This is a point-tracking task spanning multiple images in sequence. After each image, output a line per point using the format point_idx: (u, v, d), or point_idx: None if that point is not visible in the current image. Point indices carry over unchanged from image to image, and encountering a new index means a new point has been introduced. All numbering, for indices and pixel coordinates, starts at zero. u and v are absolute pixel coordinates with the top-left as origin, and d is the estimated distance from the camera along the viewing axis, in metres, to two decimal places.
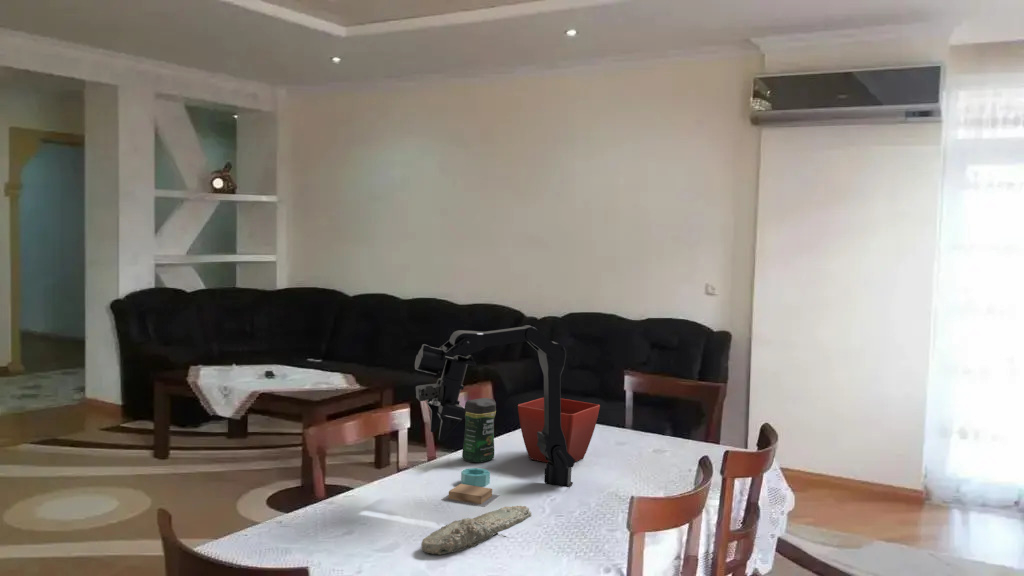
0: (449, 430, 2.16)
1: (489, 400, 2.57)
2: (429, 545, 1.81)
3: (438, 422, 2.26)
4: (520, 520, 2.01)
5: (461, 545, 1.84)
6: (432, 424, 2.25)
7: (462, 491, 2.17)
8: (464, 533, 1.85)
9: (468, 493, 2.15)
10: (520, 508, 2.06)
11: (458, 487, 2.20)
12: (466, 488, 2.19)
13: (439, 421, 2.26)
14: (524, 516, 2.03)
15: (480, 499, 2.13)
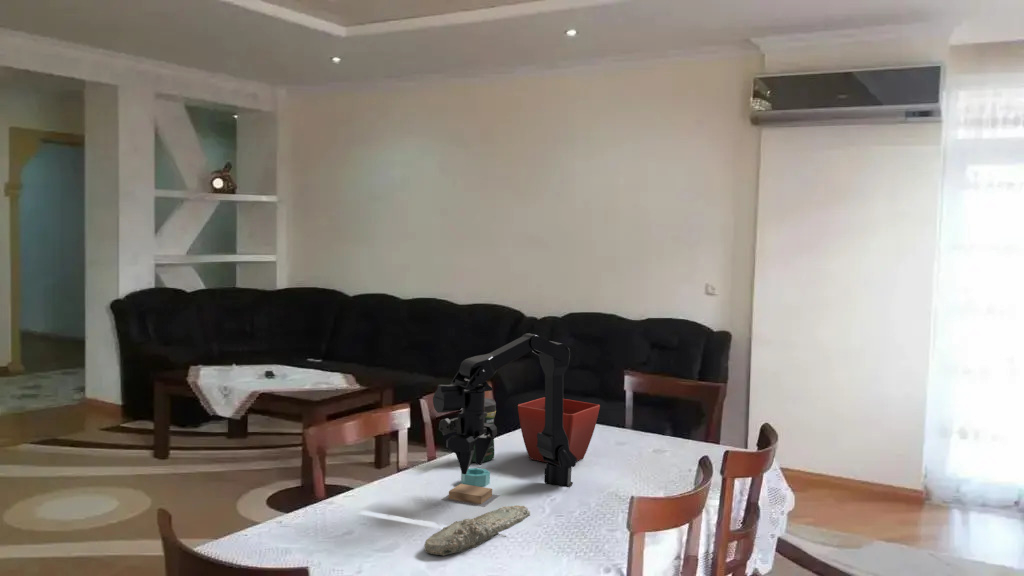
0: (466, 462, 2.11)
1: (489, 400, 2.57)
2: (433, 546, 1.81)
3: (482, 454, 2.21)
4: (520, 520, 2.01)
5: (464, 546, 1.84)
6: (477, 456, 2.22)
7: (462, 491, 2.17)
8: (467, 533, 1.85)
9: (468, 493, 2.15)
10: (519, 508, 2.06)
11: (458, 487, 2.20)
12: (466, 488, 2.19)
13: (483, 453, 2.21)
14: (523, 516, 2.03)
15: (480, 499, 2.13)
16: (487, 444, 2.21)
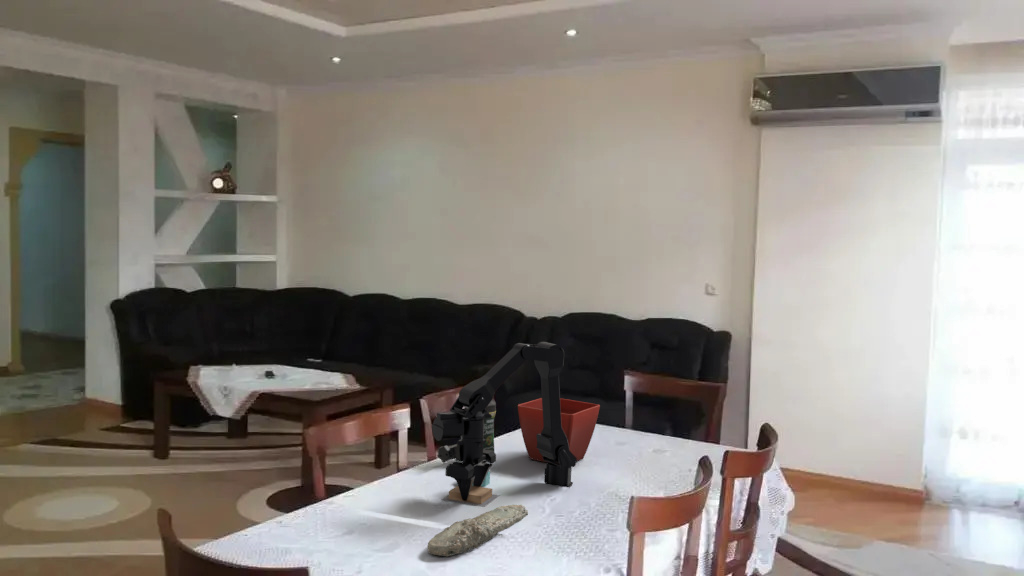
0: (467, 489, 2.13)
1: None
2: (437, 547, 1.80)
3: (479, 481, 2.21)
4: (519, 519, 2.01)
5: (467, 546, 1.83)
6: (474, 484, 2.21)
7: None
8: (470, 534, 1.84)
9: None
10: (517, 507, 2.07)
11: (458, 487, 2.20)
12: None
13: (480, 480, 2.21)
14: (522, 515, 2.03)
15: (480, 499, 2.13)
16: (484, 471, 2.21)
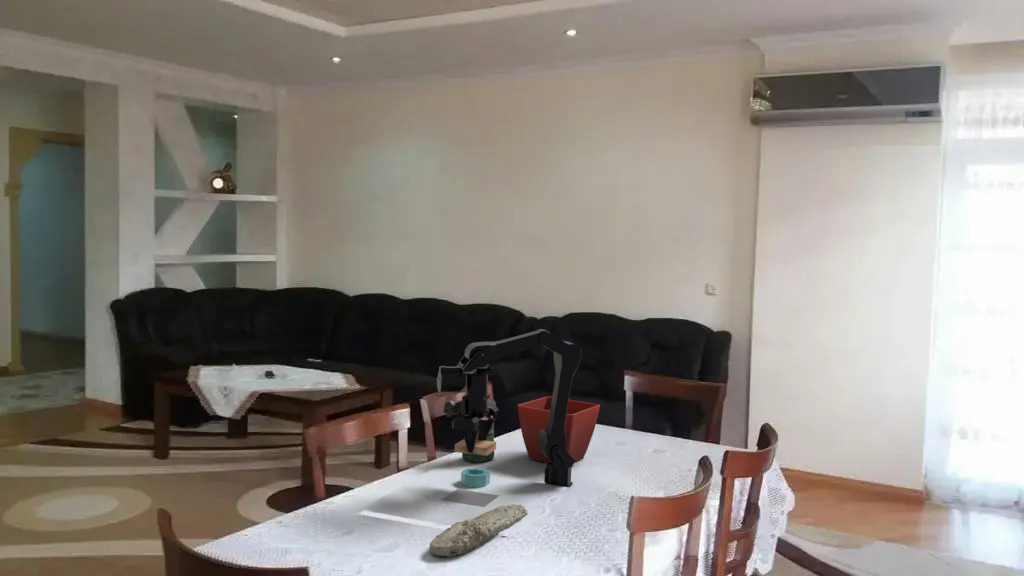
0: (473, 441, 2.21)
1: (489, 400, 2.57)
2: (439, 548, 1.80)
3: (484, 435, 2.29)
4: (519, 519, 2.01)
5: (469, 546, 1.83)
6: (478, 438, 2.30)
7: None
8: (472, 534, 1.84)
9: None
10: (516, 507, 2.07)
11: (463, 441, 2.28)
12: None
13: (484, 434, 2.29)
14: (522, 514, 2.04)
15: (485, 450, 2.21)
16: (488, 425, 2.29)
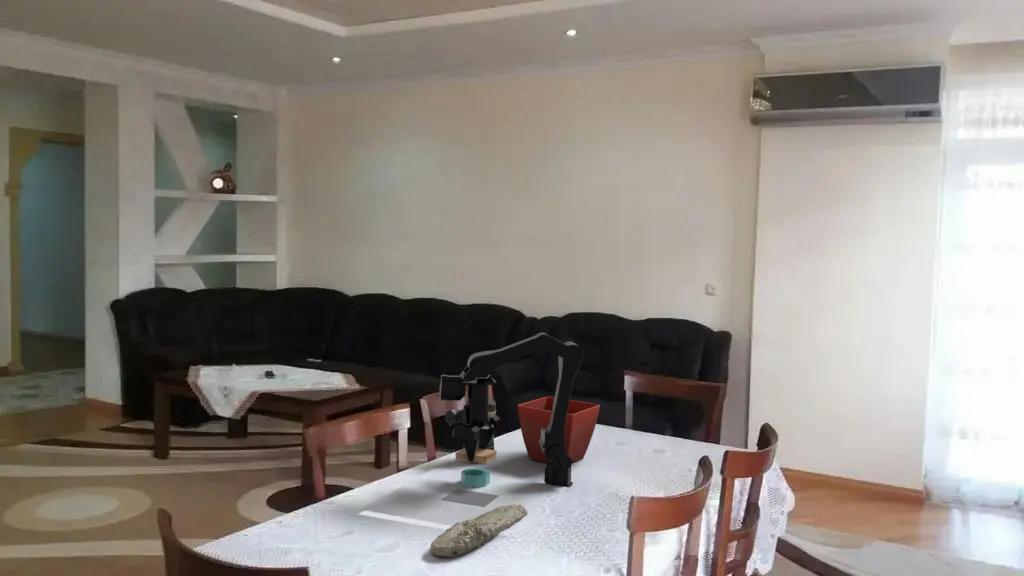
0: (473, 450, 2.25)
1: (489, 400, 2.57)
2: (440, 548, 1.80)
3: (485, 444, 2.33)
4: (519, 519, 2.02)
5: (471, 546, 1.83)
6: (480, 446, 2.33)
7: None
8: (473, 534, 1.84)
9: None
10: (516, 507, 2.07)
11: (465, 449, 2.32)
12: None
13: (485, 443, 2.33)
14: (522, 514, 2.04)
15: (485, 459, 2.25)
16: (489, 434, 2.33)
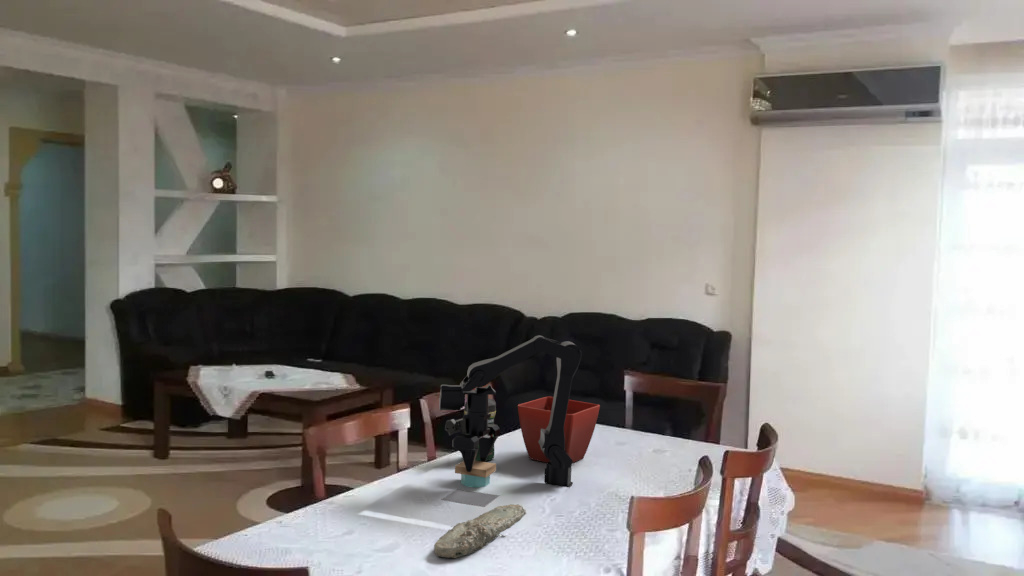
0: (471, 461, 2.24)
1: (489, 400, 2.57)
2: (444, 549, 1.79)
3: (485, 453, 2.34)
4: (519, 518, 2.02)
5: (474, 547, 1.83)
6: (480, 455, 2.34)
7: None
8: (476, 535, 1.84)
9: (473, 467, 2.27)
10: (515, 506, 2.07)
11: None
12: None
13: (486, 452, 2.34)
14: (521, 514, 2.04)
15: (484, 472, 2.25)
16: (490, 443, 2.34)
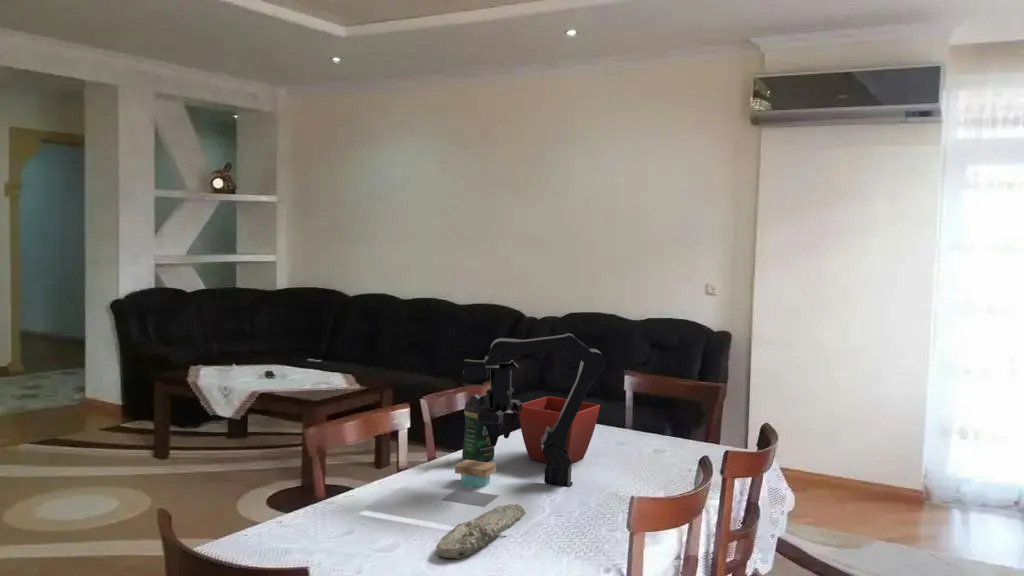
0: (496, 435, 2.26)
1: None
2: (447, 550, 1.79)
3: (509, 428, 2.36)
4: (518, 518, 2.02)
5: (476, 547, 1.83)
6: (504, 430, 2.37)
7: (467, 465, 2.29)
8: (478, 535, 1.84)
9: (473, 467, 2.27)
10: (514, 506, 2.07)
11: (464, 462, 2.32)
12: (471, 463, 2.31)
13: (509, 427, 2.36)
14: (521, 514, 2.04)
15: (484, 472, 2.25)
16: (513, 418, 2.36)
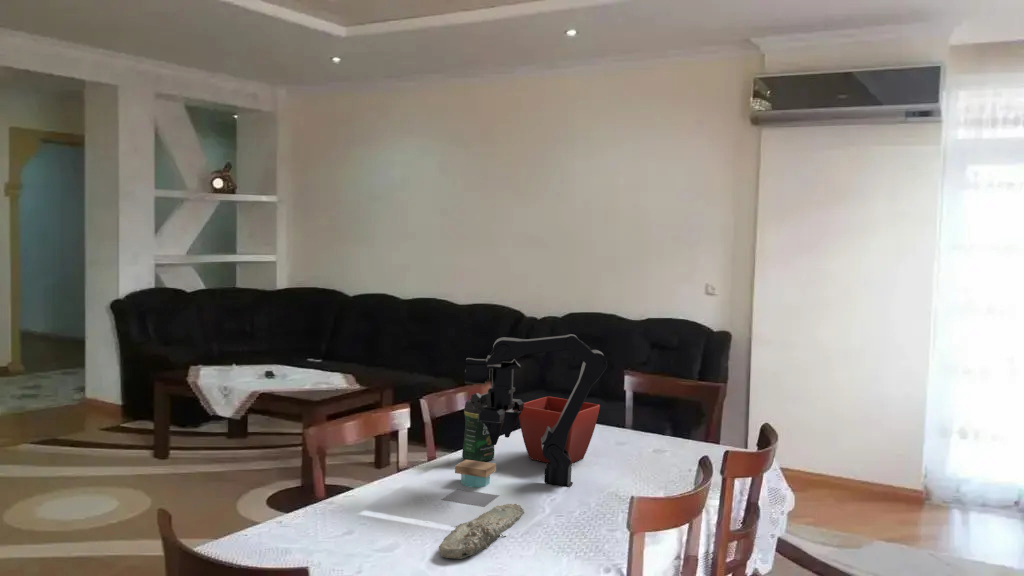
0: (496, 434, 2.27)
1: None
2: (451, 550, 1.78)
3: (510, 427, 2.36)
4: (518, 518, 2.02)
5: (479, 547, 1.83)
6: (505, 429, 2.37)
7: (467, 465, 2.29)
8: (481, 535, 1.84)
9: (473, 467, 2.27)
10: (513, 506, 2.07)
11: (464, 462, 2.32)
12: (471, 463, 2.31)
13: (510, 426, 2.36)
14: (520, 514, 2.04)
15: (484, 472, 2.25)
16: (514, 418, 2.36)
